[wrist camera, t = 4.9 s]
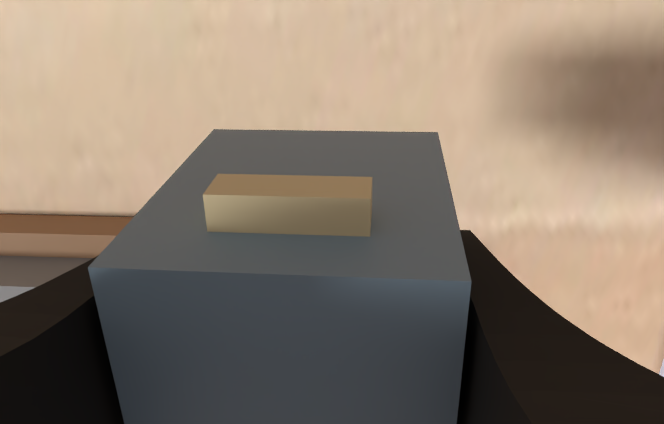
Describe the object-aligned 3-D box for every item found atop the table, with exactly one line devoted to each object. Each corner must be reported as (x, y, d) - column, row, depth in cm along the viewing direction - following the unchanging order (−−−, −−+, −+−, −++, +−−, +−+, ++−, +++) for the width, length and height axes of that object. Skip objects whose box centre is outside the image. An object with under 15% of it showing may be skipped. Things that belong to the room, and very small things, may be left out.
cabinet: (439, 105, 12) (476, 238, 7) (426, 303, 14) (446, 522, 9) (211, 103, 13) (78, 226, 7) (232, 296, 15) (141, 499, 10)
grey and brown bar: (356, 222, 21) (350, 272, 18) (357, 280, 23) (351, 337, 19) (-132, 211, 23) (-213, 254, 20) (-109, 265, 25) (-182, 314, 22)
